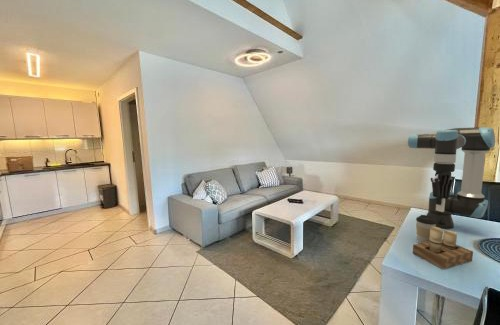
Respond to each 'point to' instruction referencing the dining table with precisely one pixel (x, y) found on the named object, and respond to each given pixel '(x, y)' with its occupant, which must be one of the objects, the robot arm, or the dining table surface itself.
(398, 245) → the dining table surface
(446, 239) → the peg
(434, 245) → the peg
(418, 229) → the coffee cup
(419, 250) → the board
